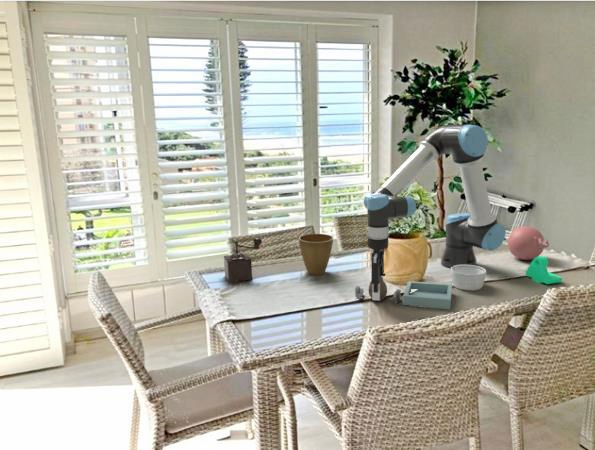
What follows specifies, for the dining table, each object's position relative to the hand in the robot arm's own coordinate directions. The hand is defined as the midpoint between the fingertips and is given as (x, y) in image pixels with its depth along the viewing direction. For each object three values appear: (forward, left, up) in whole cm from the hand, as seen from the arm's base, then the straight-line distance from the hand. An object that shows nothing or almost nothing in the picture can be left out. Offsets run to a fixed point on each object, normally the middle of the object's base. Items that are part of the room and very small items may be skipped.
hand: (377, 296), depth 191 cm
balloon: (-62, +58, -1) cm, 85 cm away
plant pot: (-25, -31, -1) cm, 40 cm away
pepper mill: (-12, -60, -1) cm, 61 cm away
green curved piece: (-35, +61, -2) cm, 71 cm away
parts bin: (-4, +18, -1) cm, 18 cm away
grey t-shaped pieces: (0, 0, -1) cm, 1 cm away
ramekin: (-22, +32, -1) cm, 39 cm away
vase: (0, 0, -1) cm, 1 cm away
